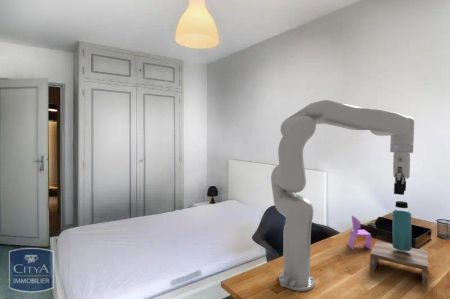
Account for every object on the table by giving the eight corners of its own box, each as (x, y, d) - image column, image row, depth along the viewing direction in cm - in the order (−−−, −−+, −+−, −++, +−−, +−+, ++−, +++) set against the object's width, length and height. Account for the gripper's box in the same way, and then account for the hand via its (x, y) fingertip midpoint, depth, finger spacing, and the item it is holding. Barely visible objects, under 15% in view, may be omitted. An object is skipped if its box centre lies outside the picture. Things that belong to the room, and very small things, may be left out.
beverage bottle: (414, 255, 102) (415, 203, 102) (395, 254, 104) (395, 203, 103) (407, 249, 108) (408, 200, 108) (389, 247, 110) (389, 199, 110)
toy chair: (373, 250, 124) (373, 218, 123) (354, 250, 124) (354, 218, 124) (364, 243, 132) (365, 213, 132) (346, 243, 133) (347, 213, 132)
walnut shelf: (427, 285, 94) (427, 266, 94) (369, 270, 105) (370, 253, 105) (427, 268, 107) (427, 251, 107) (376, 256, 118) (376, 240, 118)
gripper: (412, 149, 95) (410, 197, 96) (414, 148, 109) (412, 190, 109) (387, 149, 99) (386, 194, 100) (392, 148, 113) (391, 188, 114)
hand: (399, 192), depth 105 cm, fingers open, 9 cm apart
